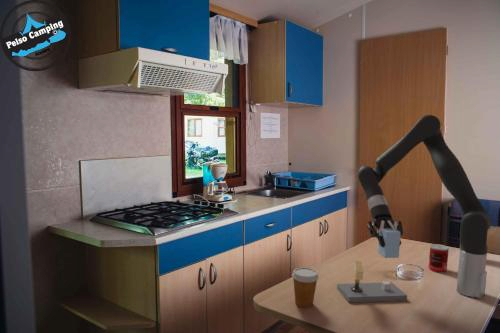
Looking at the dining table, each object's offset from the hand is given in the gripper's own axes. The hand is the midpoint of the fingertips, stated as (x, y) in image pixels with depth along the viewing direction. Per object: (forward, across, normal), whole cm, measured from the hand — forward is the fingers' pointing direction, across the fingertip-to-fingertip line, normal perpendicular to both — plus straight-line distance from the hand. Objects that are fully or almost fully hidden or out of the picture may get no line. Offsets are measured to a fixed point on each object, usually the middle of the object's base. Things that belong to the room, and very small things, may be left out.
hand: (391, 246), depth 149 cm
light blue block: (+2, 0, +4) cm, 5 cm away
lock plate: (+13, -6, +15) cm, 21 cm away
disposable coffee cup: (+17, -34, +11) cm, 40 cm away
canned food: (-4, +37, +32) cm, 49 cm away
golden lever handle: (+14, -14, +10) cm, 22 cm away
